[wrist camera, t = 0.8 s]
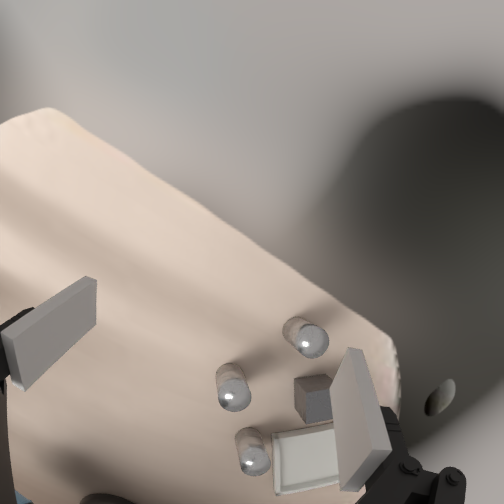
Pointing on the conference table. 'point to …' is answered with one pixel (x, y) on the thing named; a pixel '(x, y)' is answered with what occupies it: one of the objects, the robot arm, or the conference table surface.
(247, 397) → the cylinder
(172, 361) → the conference table surface
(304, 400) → the slate cube
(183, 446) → the conference table surface
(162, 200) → the conference table surface
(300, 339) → the cylinder
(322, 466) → the tray
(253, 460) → the spacer
